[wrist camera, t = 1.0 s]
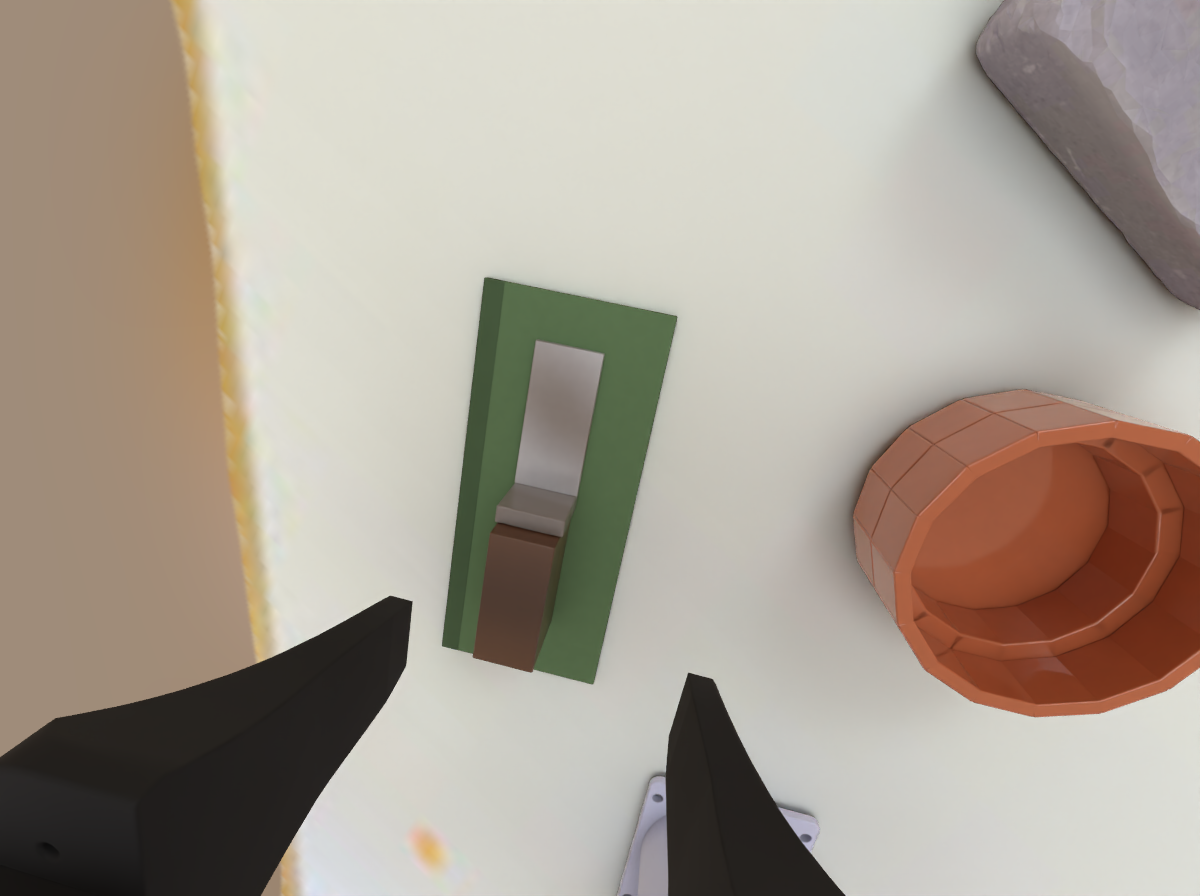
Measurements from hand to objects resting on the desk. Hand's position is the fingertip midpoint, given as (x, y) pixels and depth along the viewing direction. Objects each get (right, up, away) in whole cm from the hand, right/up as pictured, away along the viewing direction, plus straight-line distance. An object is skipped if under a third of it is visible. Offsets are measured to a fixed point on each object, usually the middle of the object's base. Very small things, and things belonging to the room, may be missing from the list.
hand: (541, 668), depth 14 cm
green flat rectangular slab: (-1, +3, +9) cm, 10 cm away
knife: (-1, +4, +9) cm, 9 cm away
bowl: (+16, +3, +7) cm, 18 cm away
